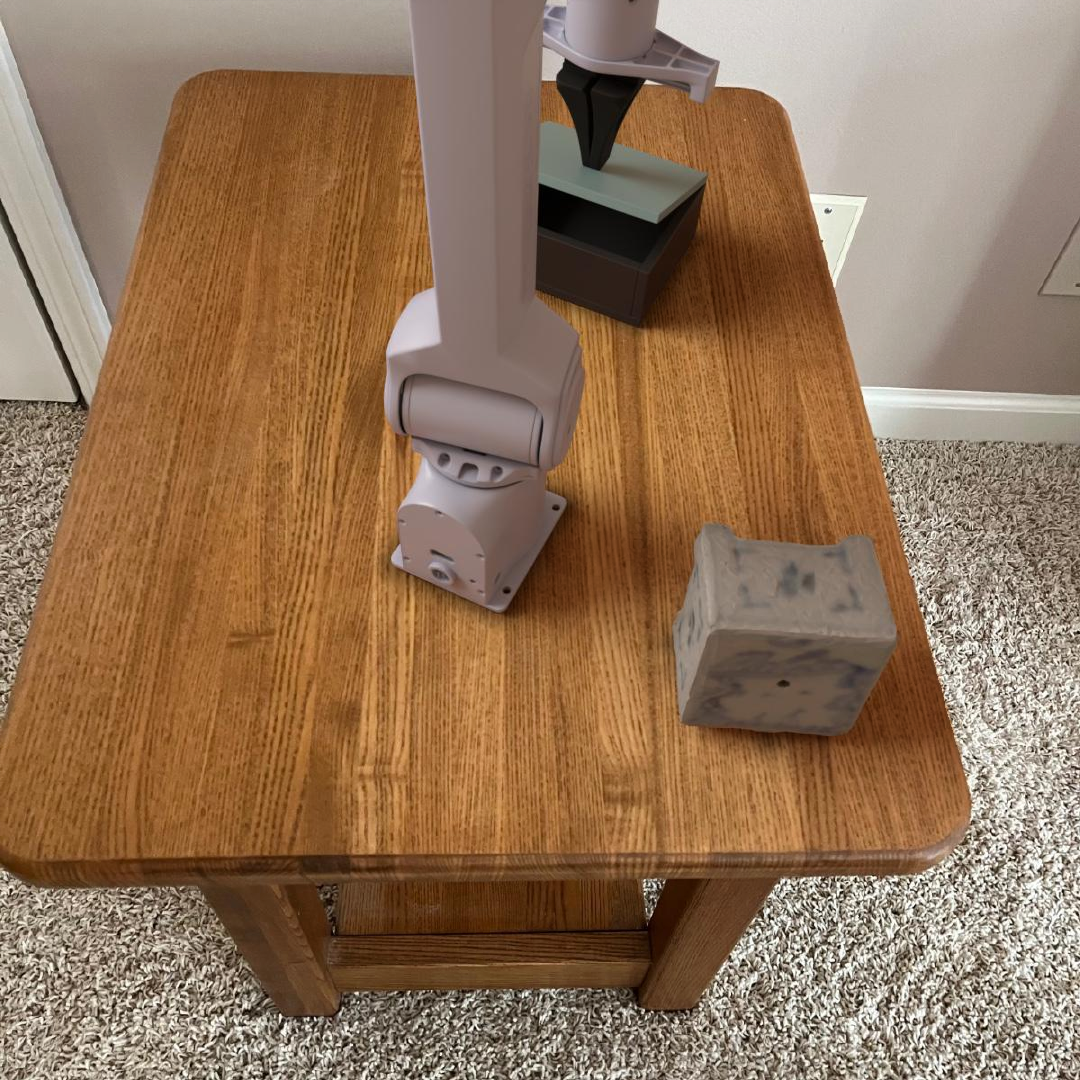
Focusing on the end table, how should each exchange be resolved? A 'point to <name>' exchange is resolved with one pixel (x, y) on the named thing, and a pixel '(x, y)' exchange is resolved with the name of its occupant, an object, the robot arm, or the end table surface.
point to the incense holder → (781, 633)
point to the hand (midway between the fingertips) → (596, 161)
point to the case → (609, 253)
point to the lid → (615, 176)
